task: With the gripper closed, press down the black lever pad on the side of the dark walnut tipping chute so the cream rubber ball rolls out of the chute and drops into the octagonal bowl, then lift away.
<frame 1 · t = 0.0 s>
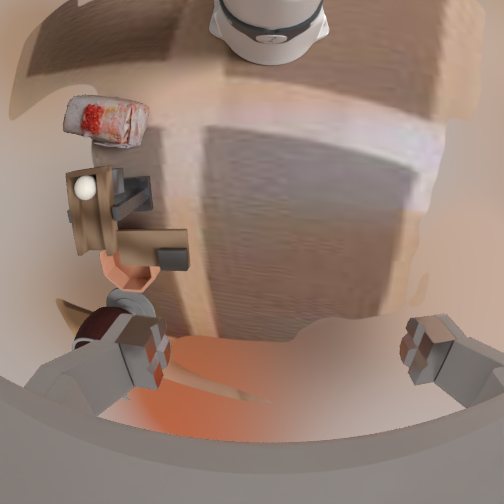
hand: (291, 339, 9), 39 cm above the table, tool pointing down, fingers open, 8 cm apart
chute stand: (124, 194, 46), on the table
tipping chute: (131, 213, 39), point 9 cm above the table, hinge at -5.0°, touching ball
ball: (85, 187, 34), point 12 cm above the table, tilted 12°, touching tipping chute
food item: (118, 118, 40), on the table
octagonal bowl: (135, 255, 52), on the table
mate gourd: (133, 311, 59), on the table
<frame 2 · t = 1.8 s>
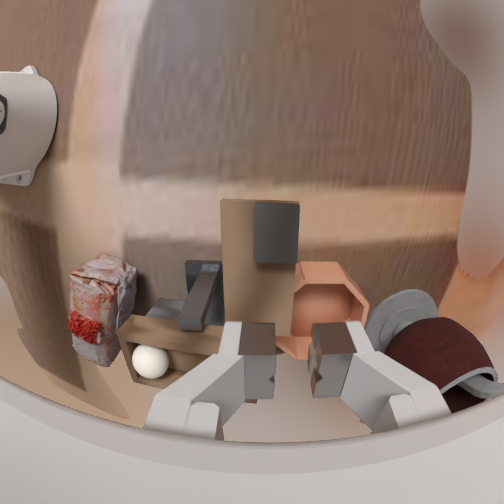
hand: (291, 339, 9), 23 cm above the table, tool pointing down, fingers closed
chute stand: (214, 301, 35), on the table
tipping chute: (205, 297, 25), point 9 cm above the table, hinge at -5.0°, touching ball
ball: (150, 360, 24), point 12 cm above the table, tilted 12°, touching tipping chute
food item: (117, 293, 36), on the table
octagonal bowl: (313, 302, 34), on the table
mate gourd: (404, 322, 35), on the table
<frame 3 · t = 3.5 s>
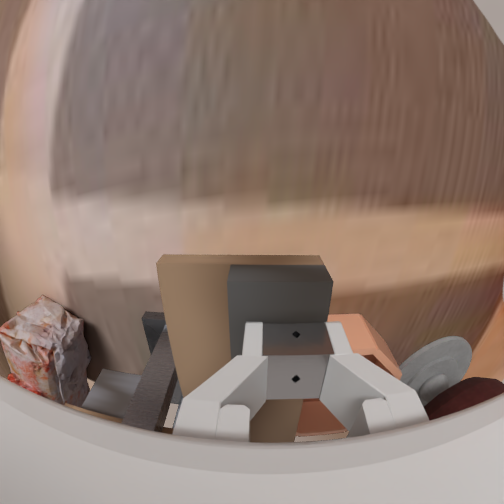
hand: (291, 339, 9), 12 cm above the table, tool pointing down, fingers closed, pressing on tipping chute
chute stand: (187, 362, 24), on the table
tipping chute: (158, 394, 14), point 9 cm above the table, hinge at 0.5°, touching ball, gripper
food item: (69, 342, 25), on the table
octagonal bowl: (324, 364, 24), on the table
mate gourd: (433, 373, 25), on the table
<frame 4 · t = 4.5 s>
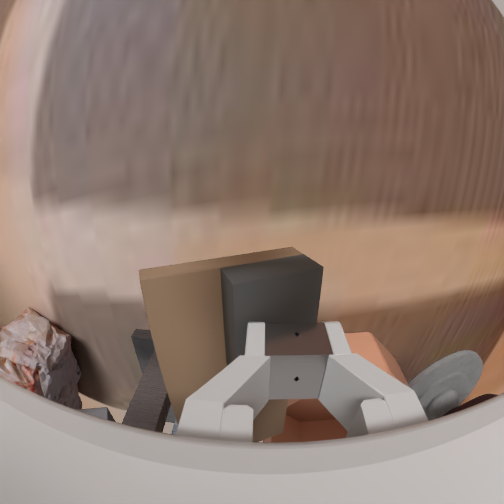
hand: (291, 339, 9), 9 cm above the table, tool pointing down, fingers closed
chute stand: (182, 382, 22), on the table
tipping chute: (138, 422, 12), point 8 cm above the table, hinge at 24.2°, touching gripper
food item: (58, 357, 22), on the table
octagonal bowl: (329, 384, 21), on the table
mate gourd: (443, 387, 22), on the table
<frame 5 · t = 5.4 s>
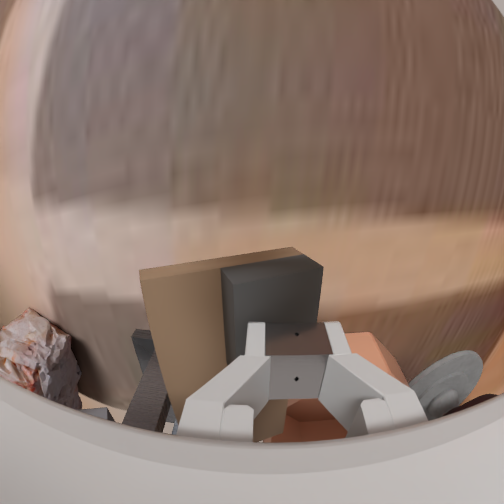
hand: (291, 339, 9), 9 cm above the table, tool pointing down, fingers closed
chute stand: (182, 382, 22), on the table
tipping chute: (138, 422, 12), point 8 cm above the table, hinge at 24.3°, touching gripper
food item: (58, 357, 22), on the table
octagonal bowl: (329, 384, 21), on the table
mate gourd: (443, 387, 22), on the table
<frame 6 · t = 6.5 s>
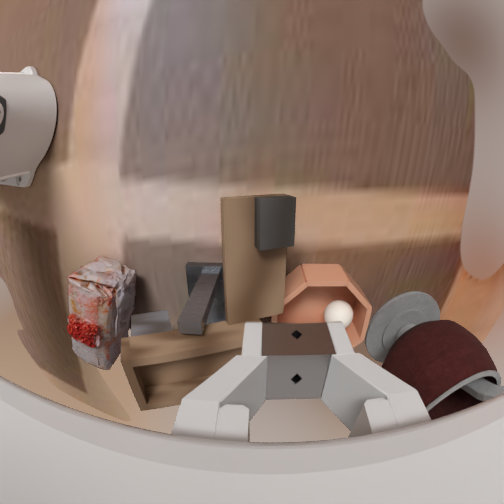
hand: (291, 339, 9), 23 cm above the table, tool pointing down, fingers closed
chute stand: (215, 303, 34), on the table
tipping chute: (198, 298, 25), point 8 cm above the table, hinge at 24.3°
ball: (338, 315, 32), point 2 cm above the table, tilted 76°, touching octagonal bowl
food item: (116, 296, 35), on the table
octagonal bowl: (315, 305, 34), on the table
mate gourd: (407, 325, 35), on the table
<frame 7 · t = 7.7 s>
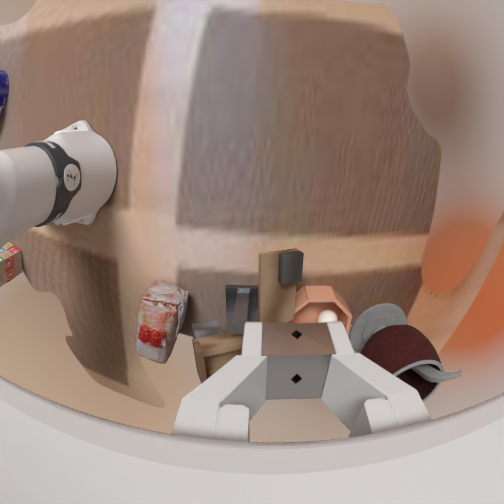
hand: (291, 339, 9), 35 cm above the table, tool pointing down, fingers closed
chute stand: (244, 312, 49), on the table
tipping chute: (241, 312, 39), point 8 cm above the table, hinge at 24.3°
ball: (327, 320, 47), point 2 cm above the table, tilted 89°, touching octagonal bowl
food item: (168, 308, 50), on the table
octagonal bowl: (314, 313, 49), on the table
mate gourd: (381, 326, 50), on the table
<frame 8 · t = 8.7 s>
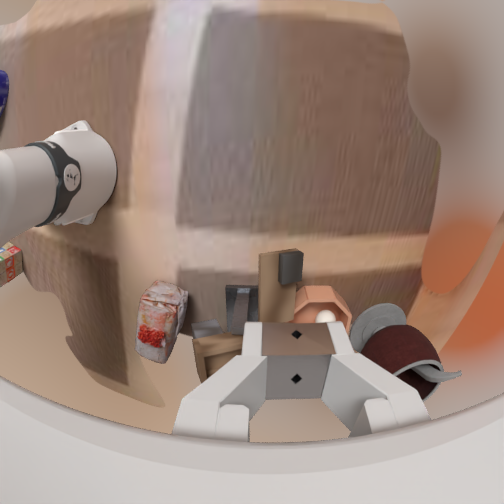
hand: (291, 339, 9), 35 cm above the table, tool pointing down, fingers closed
chute stand: (244, 312, 49), on the table
tipping chute: (241, 312, 39), point 8 cm above the table, hinge at 24.3°
ball: (325, 320, 47), point 2 cm above the table, tilted 100°, touching octagonal bowl
food item: (168, 308, 50), on the table
octagonal bowl: (314, 313, 49), on the table
mate gourd: (381, 326, 50), on the table
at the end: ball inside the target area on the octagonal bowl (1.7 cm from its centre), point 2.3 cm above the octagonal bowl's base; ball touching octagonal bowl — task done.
